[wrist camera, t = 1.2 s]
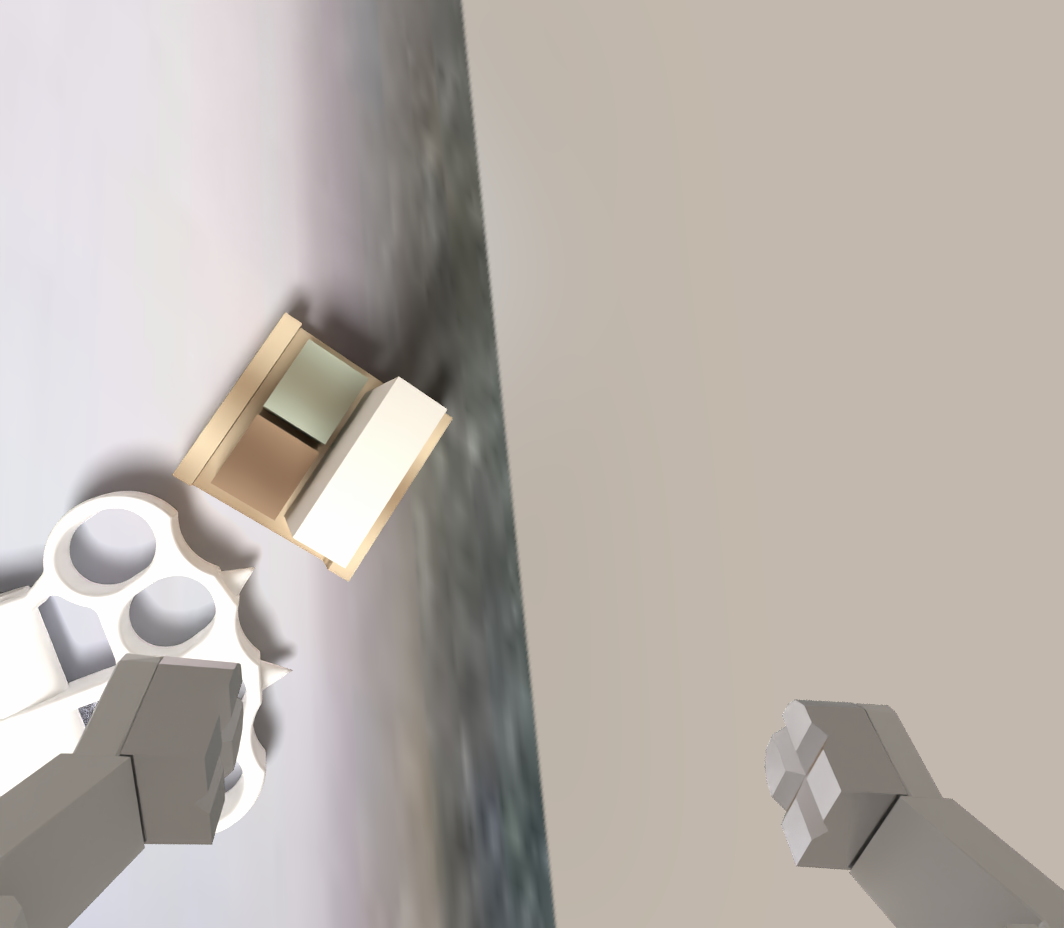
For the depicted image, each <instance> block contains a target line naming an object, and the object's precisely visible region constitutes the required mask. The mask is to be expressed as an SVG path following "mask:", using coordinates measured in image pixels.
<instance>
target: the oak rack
mask: <svg viewBox="0 0 1064 928" xmlns="http://www.w3.org/2000/svg"><path fill="white" fill-rule="evenodd" d="M301 326H302V323H301V322H299V321H298V320H296V319H295V318H293V317H292V316H290V315H289V314H287V313H286V312H285V314H284V315H283V316H282V318H281V319H280V321H279V322H278V324H277V325H276V326H275V328H274V329H273V331H272V332H271V334H270V335H269V337H268V338H267V339H266V341H265V342H264V344H263V345H262V347H261V348H260V350H259V351H258V352H257V354H256V355H255V357H254V358H253V360H252V361H251V362H250V364H249V365H248V367H247V368H246V370H245V371H244V373H243V374H242V375H241V377H240V378H239V380H238V381H237V383H236V384H235V385H234V387H233V388H232V390H231V391H230V393H229V394H228V396H227V397H226V398H225V400H224V401H223V403H222V404H221V406H220V407H219V408H218V410H217V411H216V413H215V414H214V416H213V417H212V419H211V420H210V421H209V423H208V424H207V426H206V427H205V429H204V430H203V432H202V433H201V434H200V436H199V437H198V439H197V440H196V442H195V443H194V444H193V446H192V447H191V449H190V450H189V452H188V453H187V455H186V456H185V457H184V459H183V460H182V462H181V463H180V465H179V466H178V467H177V469H176V470H175V472H174V473H173V476H174V477H176V478H178V479H179V480H181V481H183V482H185V483H186V484H188V485H190V486H191V485H194V486H196V487H198V488H199V489H201V490H203V491H205V492H206V493H208V494H210V495H211V496H213V497H215V498H217V499H218V500H220V501H222V502H223V503H225V504H227V505H229V506H230V507H232V508H234V509H235V510H237V511H239V512H241V513H242V514H244V515H246V516H247V517H249V518H251V519H253V520H254V521H256V522H258V523H259V524H261V525H263V526H265V527H266V528H268V529H270V530H271V531H273V532H275V533H277V534H278V535H280V536H282V537H284V538H285V539H287V540H289V541H290V542H292V543H294V544H296V545H297V546H299V547H301V548H302V549H304V550H306V551H308V552H309V553H311V554H313V555H314V556H316V557H318V558H320V559H321V560H323V562H324V563H325V565H326V567H327V569H328V570H330V571H331V572H333V573H335V574H336V575H338V576H340V577H342V578H343V579H345V580H347V581H349V580H350V578H351V577H352V575H353V574H354V572H355V571H356V569H357V567H358V566H359V564H360V563H361V561H362V560H363V558H364V556H365V555H366V553H367V552H368V550H369V549H370V547H371V546H372V544H373V542H374V541H375V539H376V538H377V536H378V535H379V533H380V531H381V530H382V528H383V527H384V525H385V524H386V522H387V520H388V519H389V517H390V516H391V514H392V513H393V511H394V509H395V508H396V506H397V505H398V503H399V502H400V500H401V499H402V497H403V495H404V494H405V492H406V491H407V489H408V488H409V486H410V484H411V483H412V481H413V480H414V478H415V477H416V475H417V473H418V472H419V470H420V469H421V467H422V466H423V464H424V462H425V461H426V459H427V458H428V456H429V455H430V453H431V452H432V450H433V448H434V447H435V445H436V444H437V442H438V441H439V439H440V437H441V436H442V434H443V433H444V431H445V430H446V428H447V426H448V425H449V423H450V422H451V420H452V419H453V418H452V417H450V416H449V415H447V414H446V413H445V414H444V415H443V417H442V418H441V420H440V421H439V423H438V424H437V426H436V428H435V429H434V431H433V432H432V434H431V435H430V437H429V439H428V440H427V442H426V443H425V445H424V446H423V448H422V449H421V451H420V453H419V454H418V456H417V457H416V459H415V460H414V462H413V463H412V465H411V467H410V468H409V470H408V471H407V473H406V474H405V476H404V478H403V479H402V481H401V482H400V484H399V485H398V487H397V488H396V490H395V492H394V493H393V495H392V496H391V498H390V499H389V501H388V502H387V504H386V506H385V507H384V509H383V510H382V512H381V513H380V515H379V517H378V518H377V520H376V521H375V523H374V524H373V526H372V527H371V529H370V531H369V532H368V534H367V535H366V537H365V538H364V540H363V541H362V543H361V545H360V546H359V548H358V549H357V551H356V552H355V554H354V556H353V557H352V559H351V560H350V562H349V563H348V565H347V566H346V568H344V567H342V566H340V565H338V564H337V563H335V562H333V561H332V560H330V559H328V558H326V557H325V556H323V555H321V554H320V553H318V552H316V551H315V550H313V549H311V548H309V547H308V546H306V545H304V544H303V543H301V542H299V541H297V540H296V539H294V538H293V537H292V535H291V532H290V530H289V527H288V525H287V522H286V519H285V517H284V515H285V514H286V512H287V511H288V509H289V508H290V506H291V505H292V503H293V502H294V500H295V499H296V497H297V495H298V494H299V492H300V491H301V489H302V488H303V486H304V485H305V483H306V482H307V480H308V479H309V477H310V476H311V474H312V473H313V471H314V470H315V468H316V467H317V465H318V464H319V462H320V461H321V459H322V458H323V456H324V455H325V453H326V452H327V450H328V449H329V447H330V446H331V444H332V443H333V441H334V440H335V438H336V437H337V435H338V434H339V432H340V431H341V429H342V428H343V426H344V425H345V423H346V422H347V420H348V419H349V417H350V416H351V414H352V412H353V411H354V409H355V408H356V406H357V405H358V403H359V402H360V400H361V399H362V397H363V396H364V394H365V393H366V392H368V391H370V390H372V389H374V388H376V387H378V386H380V385H382V384H384V383H382V382H381V381H379V380H378V379H376V378H375V377H373V376H372V375H371V374H369V373H368V372H366V371H365V370H363V369H362V368H360V367H359V366H357V365H356V364H354V363H353V362H351V361H350V360H348V359H347V358H345V357H344V356H342V355H341V354H339V353H338V352H336V351H335V350H333V349H332V348H330V347H329V346H327V345H326V344H324V343H323V342H321V341H320V340H318V339H317V338H315V337H314V336H312V335H311V334H309V333H308V332H306V331H305V330H303V329H302V328H301ZM309 339H310V340H311V341H313V342H314V343H316V344H317V345H319V346H320V347H322V348H323V349H325V350H326V351H328V352H329V353H331V354H332V355H334V356H335V357H337V358H338V359H340V360H341V361H343V362H344V363H346V364H347V365H349V366H350V367H352V368H353V369H355V370H356V371H358V372H359V373H361V374H362V375H364V376H365V377H367V378H368V381H367V382H366V384H365V385H364V387H363V388H362V390H361V391H360V393H359V394H358V396H357V397H356V399H355V400H354V402H353V403H352V405H351V406H350V408H349V409H348V411H347V412H346V414H345V415H344V417H343V418H342V420H341V421H340V423H339V424H338V426H337V427H336V429H335V430H334V432H333V433H332V435H331V436H330V438H329V439H328V441H327V442H326V444H321V445H320V444H318V443H317V442H315V441H314V440H312V439H310V438H309V437H307V436H306V435H304V434H302V433H301V432H299V431H298V430H296V429H295V428H293V427H291V426H290V425H288V424H287V423H285V422H283V421H282V420H280V419H279V418H277V417H275V416H274V415H272V414H271V413H269V412H268V411H266V410H264V409H263V406H264V404H265V403H266V401H267V400H268V398H269V397H270V395H271V394H272V392H273V391H274V389H275V388H276V387H277V385H278V384H279V382H280V381H281V379H282V378H283V376H284V375H285V373H286V372H287V370H288V369H289V368H290V366H291V365H292V363H293V362H294V360H295V359H296V357H297V356H298V354H299V353H300V351H301V350H302V349H303V347H304V346H305V344H306V343H307V341H308V340H309ZM257 414H259V415H260V416H262V417H263V418H265V419H267V420H268V421H270V422H271V423H273V424H275V425H276V426H278V427H279V428H281V429H283V430H284V431H286V432H287V433H289V434H291V435H292V436H294V437H295V438H297V439H299V440H300V441H302V442H303V443H305V444H307V445H308V446H310V447H311V448H313V449H315V450H316V451H318V452H319V454H318V456H317V457H316V459H315V460H314V462H313V464H312V465H311V467H310V468H309V470H308V471H307V473H306V474H305V476H304V477H303V479H302V480H301V482H300V483H299V485H298V486H297V488H296V489H295V491H294V492H293V494H292V495H291V497H290V498H289V500H288V501H287V503H286V504H285V506H284V507H283V509H282V510H281V512H280V513H279V515H278V516H277V518H276V519H275V521H274V520H273V519H271V518H269V517H268V516H266V515H264V514H262V513H261V512H259V511H257V510H256V509H254V508H252V507H251V506H249V505H247V504H245V503H244V502H242V501H240V500H239V499H237V498H235V497H234V496H232V495H230V494H228V493H227V492H225V491H223V490H222V489H220V488H218V487H217V486H215V485H213V484H211V481H212V480H213V479H214V477H215V476H216V474H217V473H218V471H219V470H220V468H221V467H222V465H223V464H224V462H225V461H226V460H227V458H228V457H229V455H230V454H231V452H232V451H233V449H234V448H235V446H236V445H237V443H238V442H239V441H240V439H241V438H242V436H243V435H244V433H245V432H246V430H247V429H248V427H249V426H250V424H251V423H252V422H253V420H254V419H255V417H256V416H257Z"/></svg>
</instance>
